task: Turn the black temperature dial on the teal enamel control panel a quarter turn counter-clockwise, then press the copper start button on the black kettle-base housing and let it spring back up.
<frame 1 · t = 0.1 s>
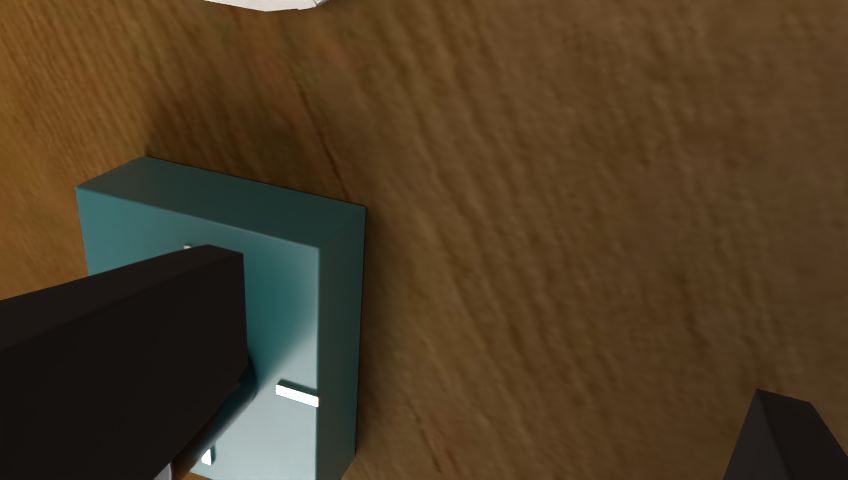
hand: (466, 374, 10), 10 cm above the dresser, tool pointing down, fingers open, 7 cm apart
dial panel: (254, 313, 25), on the dresser
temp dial: (154, 404, 20), point 5 cm above the dresser, hinge at 0.0°
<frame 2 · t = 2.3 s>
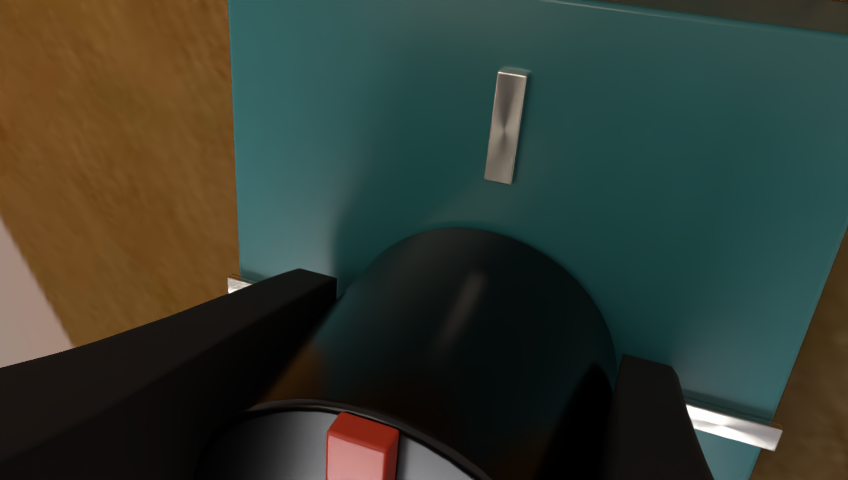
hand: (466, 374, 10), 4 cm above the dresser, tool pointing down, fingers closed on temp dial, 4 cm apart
dial panel: (523, 261, 13), on the dresser
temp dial: (425, 449, 9), point 5 cm above the dresser, hinge at -0.2°, touching gripper
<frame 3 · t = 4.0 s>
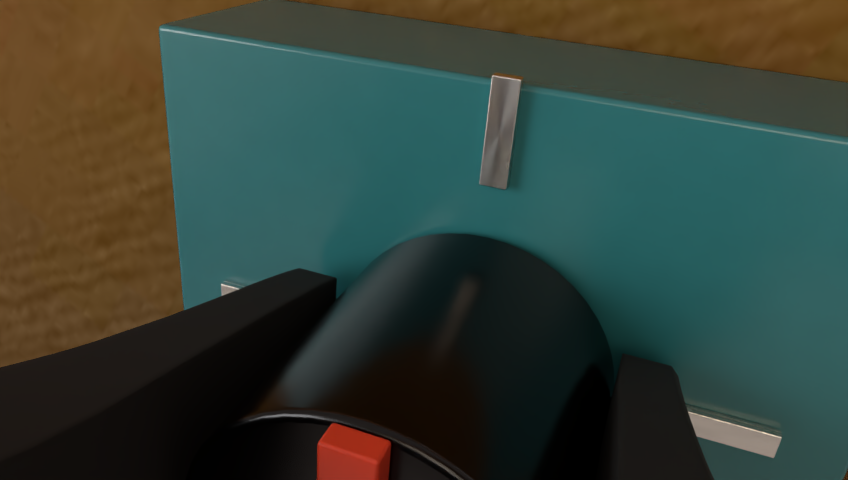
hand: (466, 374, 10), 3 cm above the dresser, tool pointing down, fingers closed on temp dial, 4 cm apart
dial panel: (520, 265, 13), on the dresser
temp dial: (420, 457, 9), point 5 cm above the dresser, hinge at 89.8°, touching gripper
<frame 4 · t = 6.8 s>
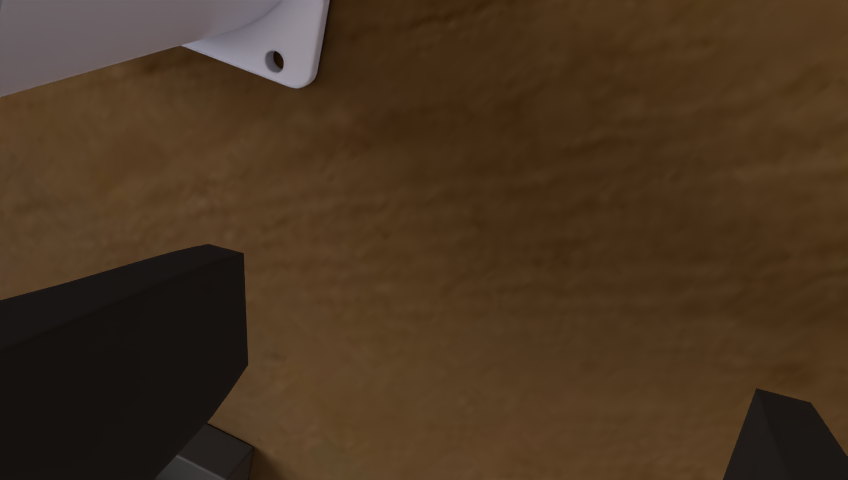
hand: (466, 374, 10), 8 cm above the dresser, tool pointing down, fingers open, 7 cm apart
kettle base: (128, 463, 28), on the dresser
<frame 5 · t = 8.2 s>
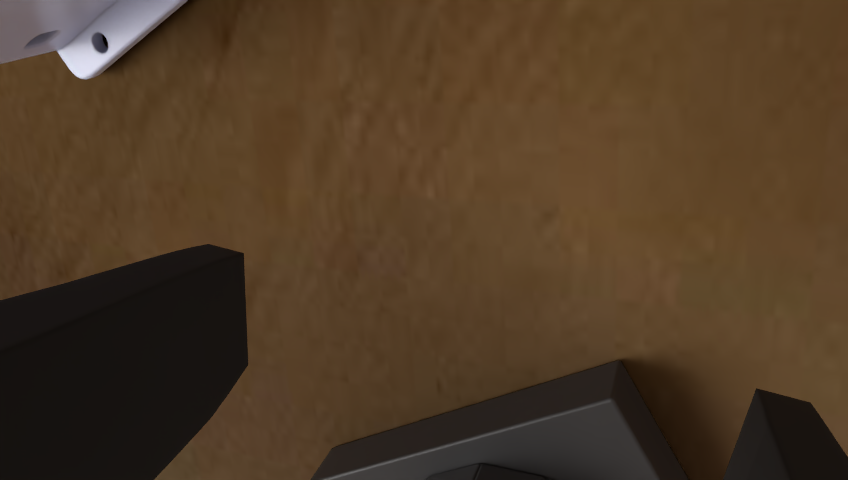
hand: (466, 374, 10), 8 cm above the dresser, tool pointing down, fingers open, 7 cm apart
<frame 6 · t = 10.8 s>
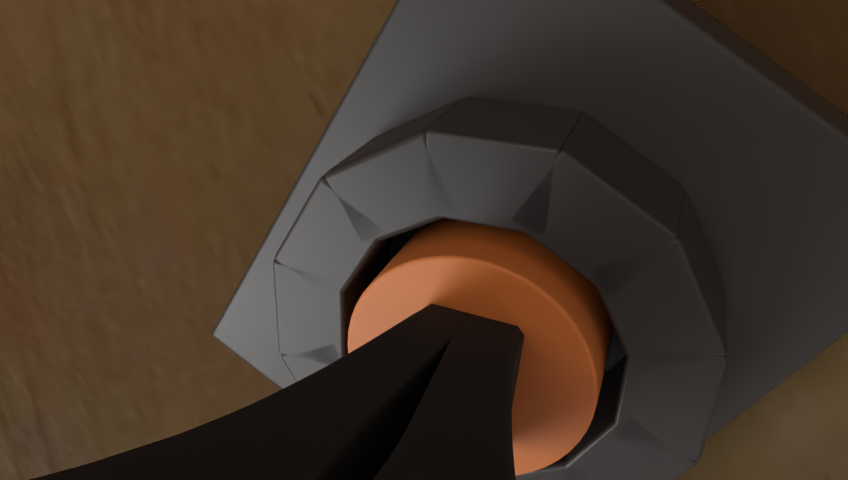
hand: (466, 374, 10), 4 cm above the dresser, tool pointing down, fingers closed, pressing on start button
start button: (481, 340, 11), point 3 cm above the dresser, slide at -0.8 cm, touching gripper
kettle base: (527, 252, 13), on the dresser
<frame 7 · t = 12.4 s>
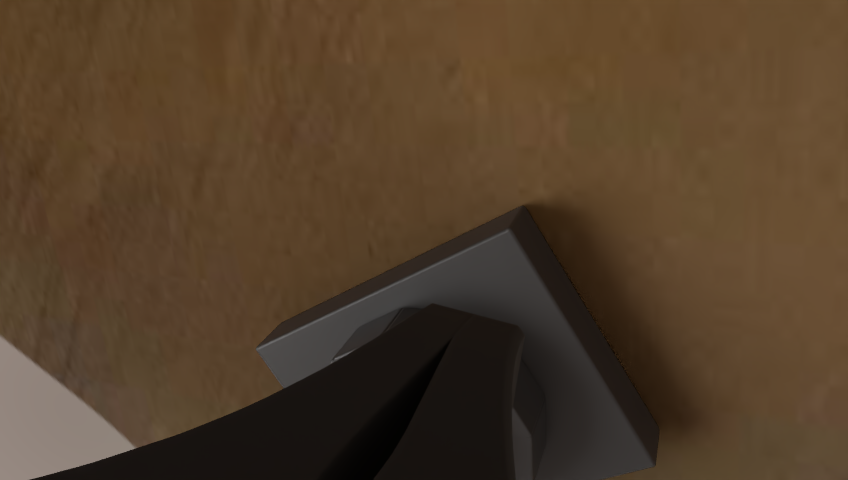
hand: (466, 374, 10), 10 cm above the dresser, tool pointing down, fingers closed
kettle base: (456, 371, 23), on the dresser
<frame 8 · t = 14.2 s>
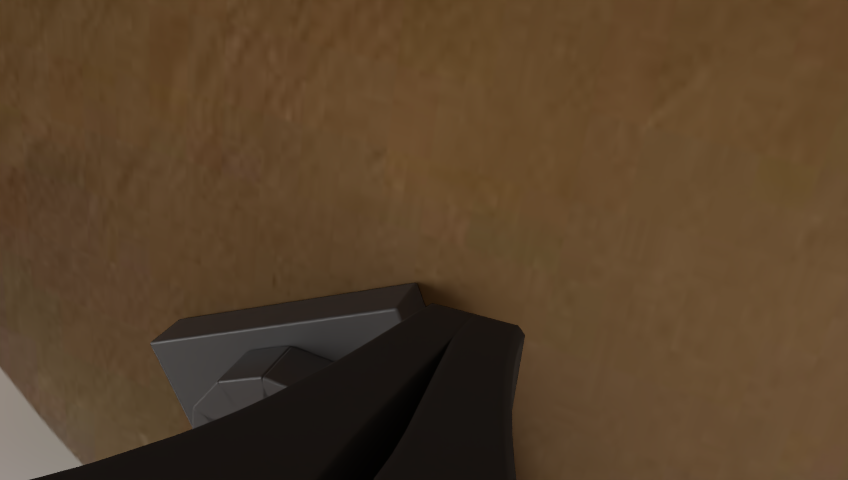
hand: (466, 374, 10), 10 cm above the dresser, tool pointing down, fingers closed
kettle base: (329, 399, 26), on the dresser
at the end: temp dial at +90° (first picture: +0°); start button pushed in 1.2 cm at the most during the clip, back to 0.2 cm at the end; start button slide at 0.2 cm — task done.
